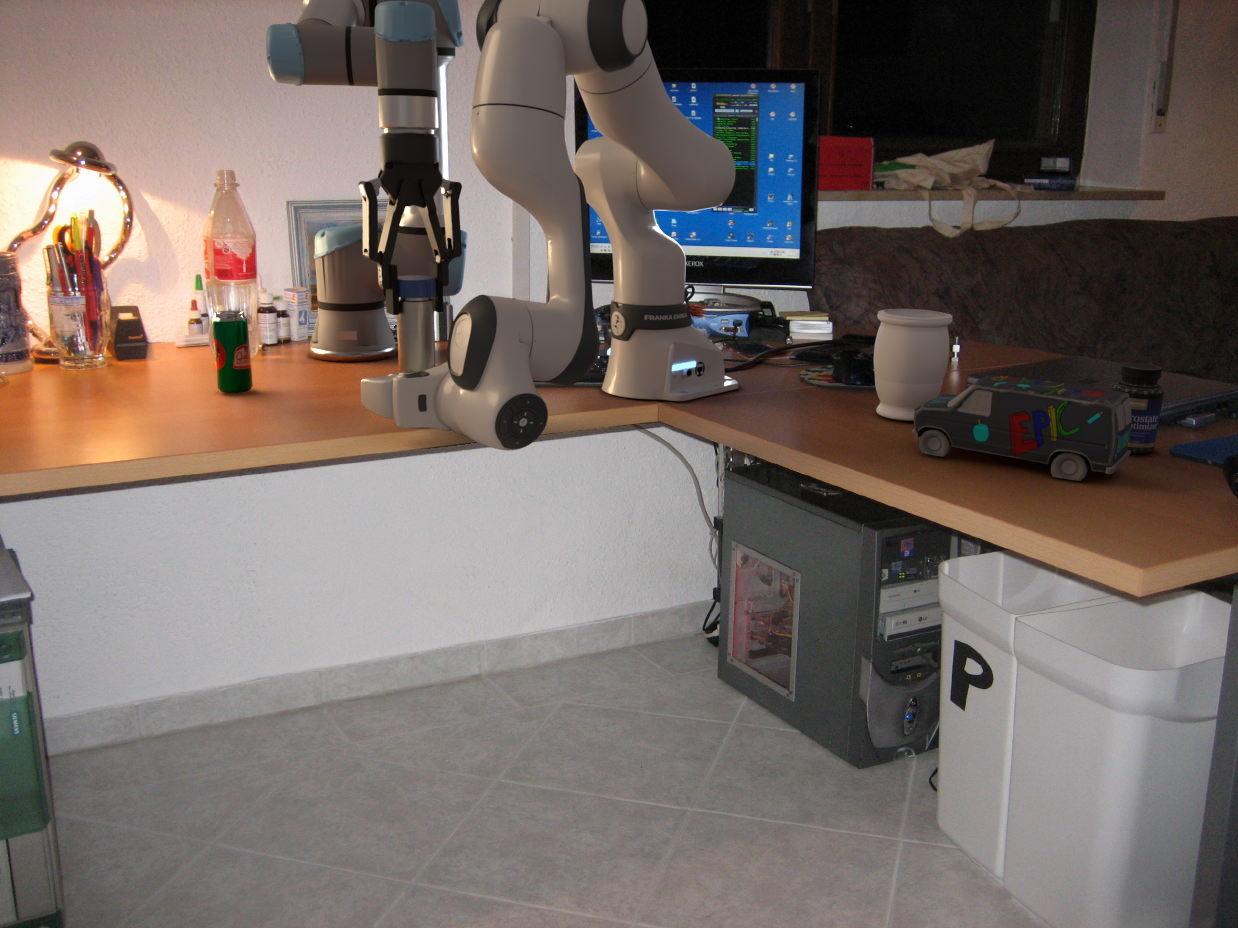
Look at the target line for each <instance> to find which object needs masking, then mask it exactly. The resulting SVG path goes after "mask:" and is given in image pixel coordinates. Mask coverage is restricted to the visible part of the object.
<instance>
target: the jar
mask: <svg viewBox="0 0 1238 928" xmlns="http://www.w3.org/2000/svg"><path fill="white" fill-rule="evenodd" d="M877 319H878V321H880V325H879V327H878V329H877V334H876V337H875V342H874V347H873V372H874V384H875V385H874V386H875V391H876V395H877V398H878V399H879V401H880V402H879V404H877V405H878V406H877V407H876V409H875V412H876V413H877V415H879V416H881V417H884V418H887V419H889V420H890V419H891V420H896V421H903V422H914V412H915V410H914V409H915V408H917V407H918V406H920V405H921V404H923V403H925V402H927V401H929V400H932V399H934V398H937V397H940V393H941V391H942V388H943V384H944V378H945V377H946V376H945V375H946V373H947V369H948V364H949V360H950V359H949V357H950V334H949V327H948V326H949V325H951V324H952V323H953V315H952V314H950V313H947V312H943V311H936V310H929V309H918V308H888V309H880V310H878V311H877Z"/></svg>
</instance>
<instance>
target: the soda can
mask: <svg viewBox="0 0 1238 928" xmlns="http://www.w3.org/2000/svg"><path fill="white" fill-rule="evenodd" d="M248 320H249V319H248V317H247V316H246V315H245V311H243V310H219V311H215V312H214V313H213V317H212V319H211V325H212V327H211V328H212V338H213V348H214V349H213V351H214V359H215V360H214V361H215V372H216V382H217V384H216V385H217V389H218V390H219V391H220V392H221V393H224V394H229V395H231V394H233V395H234V394H243V393H248V392H250V391H251V390H252V388H253V386H254V383H253V373H252V370H253V369H252V358H251V347H250V334H249V333H250V331H249V321H248Z"/></svg>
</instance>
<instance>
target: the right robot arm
mask: <svg viewBox="0 0 1238 928" xmlns="http://www.w3.org/2000/svg"><path fill="white" fill-rule="evenodd" d="M475 35H476V41H477V46H478V48H479V52H480V56H479V60H478V65H477V70H476V75H475V80H474V87H473V93H472V104H471V115H470V128H469V141H470V142H469V143H470V152H471V157H472V160H473V162H474V165H475V166H476V167H477V169H478V171H479V173H480V174H481V176H483V178H484V179H485V181H487V182H488V183H489V184H490V185H491V186H492V187H493V188H494V189H495V190H497V191H498V192H499V193H501V194H502V195H504V196H505V197H506V198H508V199H510V200H511V201H513V202H514V203H516V204H518V205H519V206H520V207H521V208H523V209H524V210H525V211H527V212H528V213H529V214H530V215H531V216H532V217H533V218H534V219H535V220H536V221H537V223H538V225H539V226H540V227H541V229H542V231H543V234H544V237H545V241H546V257H547V274H548V288H549V289H548V290H549V299H548V302H541V301H533V300H525V299H518V298H514V297H506V296H497V295H487V294H478V295H476V296H474V297H473V298H472V299H470V300H469V301H468V302H467V303H465V305H464V306H462V308H461V309H460V310H459V312H458V313H457V314H456V316H455V318H454V319H453V321H452V323H451V325H450V329H449V332H448V337H447V338H448V339H447V346H446V350H447V351H446V362H444V363H442V364H440V365H437V366H436V365H435V366H436V367H433V368H430V369H428V370H425V371H420V372H415V373H405V374H400V373H399V372H397V373H396V372H394V373H389V374H388V375H378V376H368V377H367V376H366V377H363V378H362V379H361V380H360V387H359V388H360V389H359V390H360V391H359V392H360V401H361V405H362V406H363V407H364V409H366V410H368V411H370V412H371V413H372V414H375V415H377V416H379V417H381V418H384V419H388V420H394V423H395V426H396V427H398V428H400V429H435V430H440V431H441V430H442V431H446V432H452V431H453V432H454V433H457V434H460V435H463V436H466V438H468V439H470V440H472V441H474V442H476V443H479V444H481V445H483V446H486V447H489V448H492V449H495V450H500V451H507V452H508V451H518V450H521V449H523V448H526V447H528V446H530V445H531V444H533V443H534V442H536V441H537V440H538V439H539V438H540V437H541V435H542V434H543V432H544V430H545V429H546V427H547V424H548V420H549V409H548V406H547V403H546V401H545V399H544V398H543V396H541V394H540V393H539V391H538V389H537V387H536V385H535V382H541V383H545V384H551V385H556V386H562V387H570V386H573V385H575V384H576V383H578V382H580V380H582V379H583V378H584V377H585V376H586V375H588V373H589V372H590V371H591V370H592V368H594V366H595V364H596V362H597V360H598V358H599V354H600V348H601V346H600V345H601V339H600V332H599V327H598V322H597V318H596V314H595V313H596V312H595V308H594V298H593V297H594V296H593V284H592V283H593V282H592V281H593V279H592V264H591V262H592V261H591V246H590V228H589V215H588V213H589V212H588V205H589V206H590V207H591V208H592V209H593V210H594V212H595V213H596V214H597V216H598V217H599V219H600V221H601V223H602V224H603V227H604V228H605V231H606V233H607V236H608V239H609V243H610V247H611V253H612V267H613V269H612V271H613V272H612V273H613V299H612V300H611V301H610V315H609V316H610V317H609V323H610V334H611V340H610V348H608V349H607V351H606V355H607V356H608V362H607V367H606V371H605V376H604V379H603V382H602V385H601V391H603V392H605V393H606V394H609V395H613V396H617V397H622V398H629V399H637V400H639V399H640V400H663V401H669V402H685V401H686V402H687V401H691V400H695V399H699V398H704V397H707V396H712V395H716V394H721V393H725V392H730V391H734V390H737V389H739V387H740V386H739V382H738V381H737V380H736V379H734V378H732V377H730V376H727V375H726V373H728V372H734V371H738V370H742V369H743V368H746V367H749V366H751V365H754V364H756V362H757V361H759V360H761V359H764V358H765V357H767V356H769V355H772V354H776V353H779V352H784V351H789V350H795V349H801V348H810V347H819V346H827V345H835V344H834V343H836V344H839V343H838V342H842V341H843V340H844V339H843V338H836V339H825V340H818V341H810V342H800V343H795V344H789V345H783V346H782V345H781V346H778V347H774V348H771V349H768V350H765V351H763V352H761V353H759V354H757V355H755V356H754V357H751V359H749V360H746V361H744V362H741V363H739V364H736V365H733V366H730V367H729V366H727V367H725V359H724V355H723V352H722V350H721V348H719V346H717V345H716V344H715V342H713V341H711V340H710V339H709V338H708V337H707V336H706V335H705V334H703V333H702V332H701V331H700V330H699V329H697V328H696V327H695V326H694V325H693V324H694V321H693V318H692V317H696V318H699V319H702V318H703V317H704V315H706V312H707V310H706V307H705V305H703V304H698V303H692V304H691V305H690V304H689V303H688V302H686V301H685V298H686V297H685V295H686V269H687V268H686V266H687V258H686V254H685V252H684V250H683V248H682V246H681V245H680V244H679V243H678V242H677V241H676V240H675V239H673V238H672V237H671V236H668V235H667V234H666V233H664V232H663V231H662V230H661V227H660V226H659V224H658V223H657V220H656V216H655V211H662V212H663V211H664V212H665V211H666V212H685V213H687V212H691V213H692V212H698V211H703V210H707V209H708V210H709V209H714V208H718V207H720V206H722V205H723V204H724V203H725V201H726V200H727V199H728V198H729V196H730V194H731V193H732V191H733V188H734V185H735V182H736V164H735V159H734V157H733V155H732V152H731V151H730V149H729V147H728V146H727V145H726V144H725V142H723V141H721V140H720V139H717V138H716V137H713V136H711V135H710V134H707V133H706V132H704V131H703V130H702V129H700V128H698V126H696V125H695V124H694V123H692V122H691V120H689V119H688V117H686V116H685V115H684V114H683V113H682V111H681V110H680V109H679V108H678V107H677V106H676V104H675V103H674V102H673V100H672V99H671V98H670V96H669V94H668V93H667V89H666V88H665V85H664V82H663V80H662V78H661V77H662V76H661V75H660V72H659V70H658V66H657V64H656V61H655V58H654V55H653V53H652V52H653V51H652V49H651V47H650V44H649V40H648V35H649V19H648V12H647V7H646V4H645V1H644V0H484V1H483V2H482V4H481V6H480V8H479V10H478V13H477V16H476V21H475ZM568 76H573V79H574V81H575V83H576V87H577V88H578V91H579V93H580V96H581V98H582V101H583V103H584V106H585V108H586V112H587V113H588V115H589V118H590V120H591V123H592V124H593V126H594V128H595V129H596V130H597V131H598V132H599V133H600V134H601V135H602V136H598V137H594V138H591V139H587V140H585V141H583V143H582V144H581V145H580V147H579V148H578V149H577V152H576V154H575V156H574V159H573V162H572V163H571V160H570V156H569V152H568V148H567V142H566V141H567V140H566V118H567V117H566V116H567V93H568V92H567V91H568V89H567V77H568ZM534 381H535V382H534Z"/></svg>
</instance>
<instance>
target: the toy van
mask: <svg viewBox="0 0 1238 928" xmlns="http://www.w3.org/2000/svg"><path fill="white" fill-rule="evenodd" d="M914 410H915V412H914V421H913V429H912V430H911V433H912V435H913V438H914V439H918V438H919V439H918V447H919V450H920V452H921V453H922V454H926V455H930V456H934V457H935V456H936V457H942V458H945V457H946V456H947V455H948V454H949V453H950V452H951V450H952V448H958V449H962V450H963V449H964V450H969V451H974V452H978V453H979V452H980V453H984V454H985V453H986V454H990V455H996V456H1002V457H1007V458H1012V459H1013V458H1014V459H1019V460H1024V461H1029V462H1033V463H1039V464H1043V465H1044V464H1045V465H1048V464H1049V465H1050V463H1051V465H1050V475H1051V476H1052V478H1058V479H1065V480H1069V481H1077V482H1080V481H1082V480H1083V479H1085V478H1086V476H1087V474H1088V472H1089V469H1091V472H1098V473H1105V474H1107V475H1112V474H1113V473H1115V472H1116V471H1117V470H1118V469H1119V468H1120V467H1121V466H1122V465H1123V464H1124V463H1125V462H1126V461H1127V460H1128V458H1129V457H1130V455H1131V454H1132V453H1131V451H1130V450H1128V446H1129V445H1130V442H1129V440H1130V436H1131V430H1132V427H1133V423H1132V414H1131V405H1130V396H1129V394H1127V393H1124V392H1118V391H1112V389H1111V390H1110V389H1104V388H1097V387H1090V386H1084V385H1078V384H1071V383H1064V382H1058V381H1051V380H1043V379H1036V378H1030V377H1029V378H1028V377H1019V376H1009V375H1007V376H1006V375H999V374H997V375H996V374H995V375H987V376H984V377H980V378H979V379H977V380H976V381H975V382H973V383H972V384H971V385H970V386H968V387H967V388H966V389H965V390H963V391H962V392H960V393H958V394H943V395H939V396H938V397H937V398H934V399H932V400H929V401H927V402H925V403H923V404H921V405H920V406H918V407H917V408H915V409H914Z"/></svg>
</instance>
